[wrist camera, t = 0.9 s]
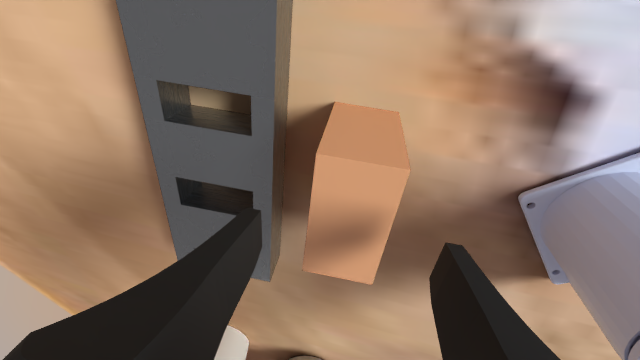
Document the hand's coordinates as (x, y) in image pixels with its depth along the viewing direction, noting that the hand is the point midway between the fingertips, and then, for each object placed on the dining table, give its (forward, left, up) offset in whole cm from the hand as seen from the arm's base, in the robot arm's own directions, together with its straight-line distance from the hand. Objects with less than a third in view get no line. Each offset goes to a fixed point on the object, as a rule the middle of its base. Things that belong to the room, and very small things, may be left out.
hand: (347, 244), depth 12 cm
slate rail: (+5, +8, -9) cm, 13 cm away
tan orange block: (-1, +1, -9) cm, 9 cm away
